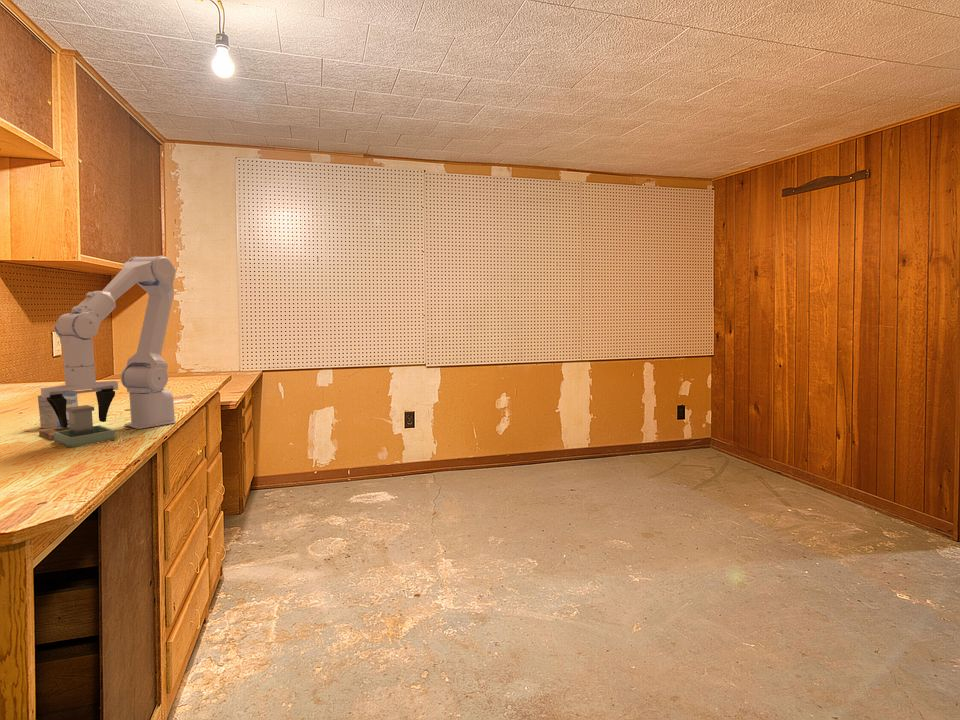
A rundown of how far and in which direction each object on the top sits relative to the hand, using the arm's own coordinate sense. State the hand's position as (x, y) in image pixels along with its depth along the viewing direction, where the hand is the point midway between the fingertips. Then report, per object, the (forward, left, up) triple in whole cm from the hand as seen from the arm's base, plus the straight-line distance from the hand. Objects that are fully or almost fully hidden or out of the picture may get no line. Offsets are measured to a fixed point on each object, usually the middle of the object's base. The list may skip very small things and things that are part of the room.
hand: (83, 424), depth 128 cm
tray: (0, 0, -4) cm, 4 cm away
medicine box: (-2, -24, -4) cm, 25 cm away
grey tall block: (0, -1, -3) cm, 3 cm away
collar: (0, -11, -4) cm, 12 cm away
